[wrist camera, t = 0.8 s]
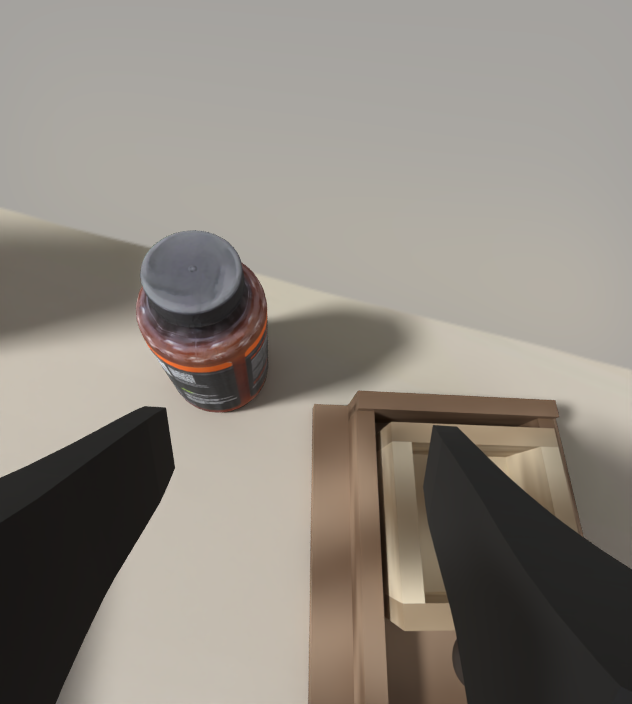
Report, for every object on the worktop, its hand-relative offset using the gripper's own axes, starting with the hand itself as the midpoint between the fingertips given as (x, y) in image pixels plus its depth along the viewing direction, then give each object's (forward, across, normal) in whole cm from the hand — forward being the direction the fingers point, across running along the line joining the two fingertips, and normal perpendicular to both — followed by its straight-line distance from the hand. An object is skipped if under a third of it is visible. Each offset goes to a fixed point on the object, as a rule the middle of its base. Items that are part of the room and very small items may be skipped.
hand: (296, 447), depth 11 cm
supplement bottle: (+14, +7, +5) cm, 16 cm away
